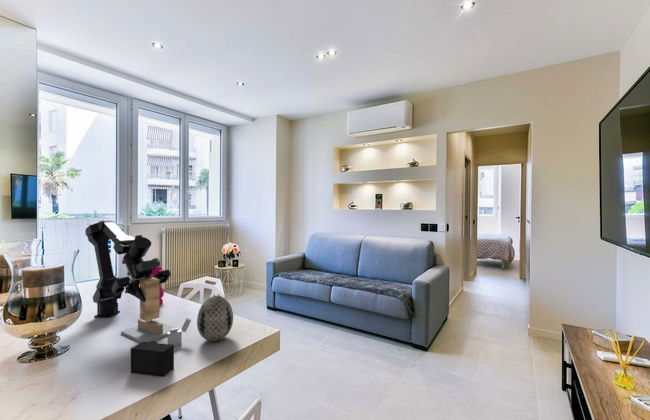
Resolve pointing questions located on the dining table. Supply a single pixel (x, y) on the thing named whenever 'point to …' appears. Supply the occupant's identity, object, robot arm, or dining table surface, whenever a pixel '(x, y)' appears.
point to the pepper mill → (159, 285)
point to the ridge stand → (147, 331)
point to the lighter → (177, 334)
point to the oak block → (149, 299)
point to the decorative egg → (215, 318)
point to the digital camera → (152, 358)
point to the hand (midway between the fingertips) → (151, 299)
